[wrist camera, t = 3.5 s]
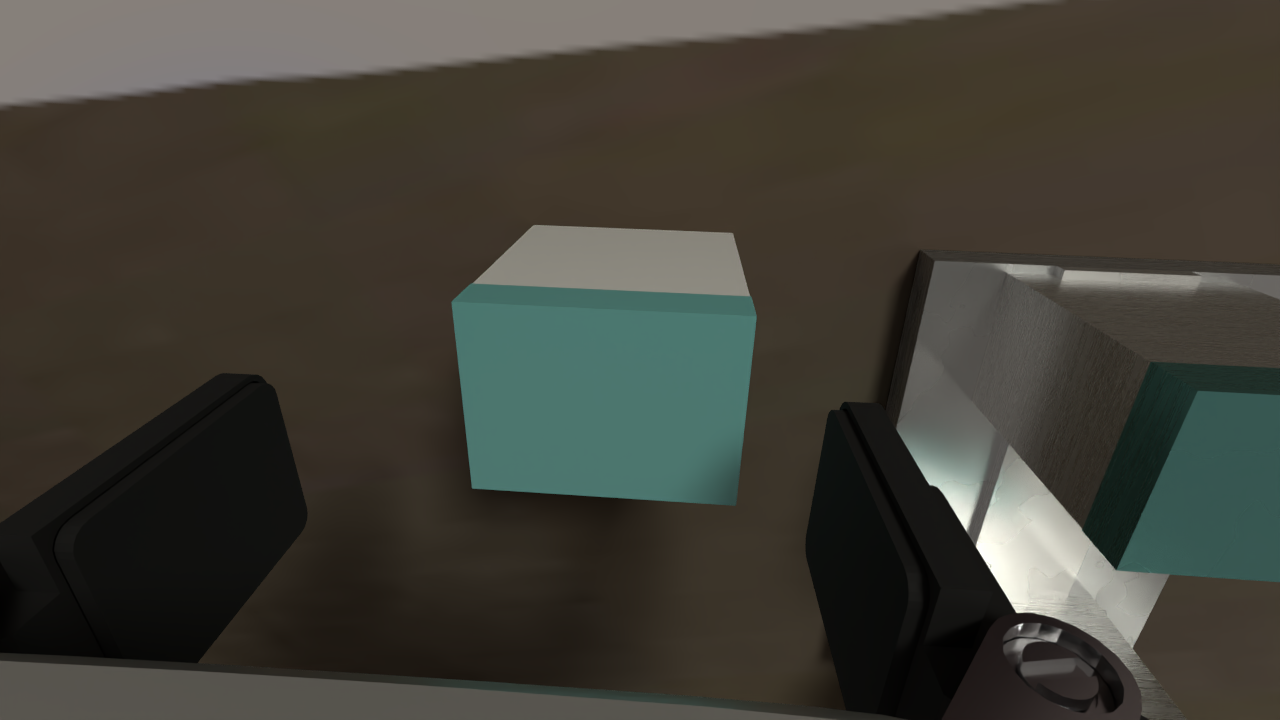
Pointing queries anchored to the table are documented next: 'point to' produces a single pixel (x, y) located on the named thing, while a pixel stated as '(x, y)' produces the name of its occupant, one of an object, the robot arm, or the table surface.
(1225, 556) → the rail plate
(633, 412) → the block
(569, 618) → the table surface
